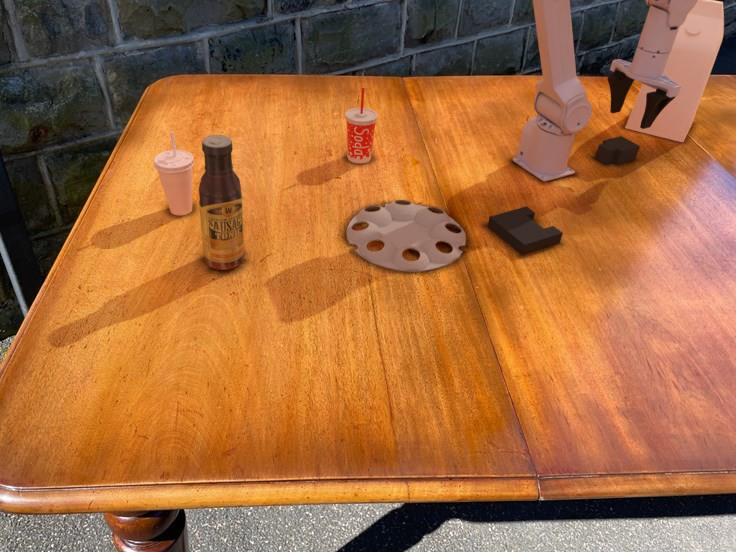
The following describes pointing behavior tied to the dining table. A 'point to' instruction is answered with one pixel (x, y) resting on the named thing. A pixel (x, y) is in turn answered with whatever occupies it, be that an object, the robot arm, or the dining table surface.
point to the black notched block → (617, 151)
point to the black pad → (523, 230)
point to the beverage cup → (360, 132)
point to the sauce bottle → (221, 206)
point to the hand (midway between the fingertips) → (629, 119)
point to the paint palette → (406, 236)
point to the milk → (685, 72)
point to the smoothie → (176, 178)
